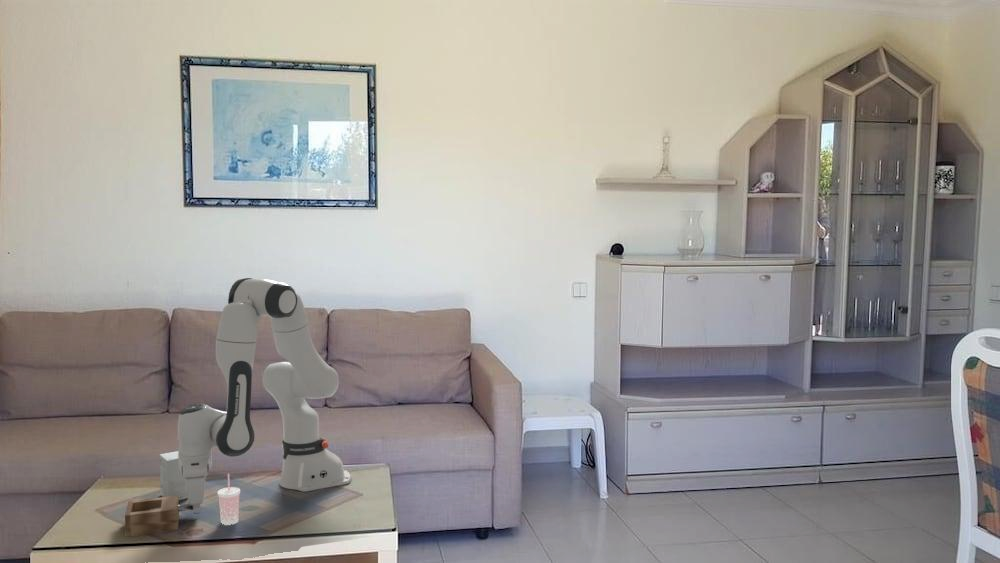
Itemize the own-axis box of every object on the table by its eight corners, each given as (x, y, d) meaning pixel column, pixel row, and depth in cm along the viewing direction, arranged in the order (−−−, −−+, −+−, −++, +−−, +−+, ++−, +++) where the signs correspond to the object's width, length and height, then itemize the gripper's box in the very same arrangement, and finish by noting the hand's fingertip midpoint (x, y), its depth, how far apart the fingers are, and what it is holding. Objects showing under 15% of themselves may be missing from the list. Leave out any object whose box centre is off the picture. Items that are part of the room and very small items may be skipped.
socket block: (179, 515, 225) (178, 495, 225) (177, 530, 215) (177, 509, 215) (129, 521, 221) (128, 501, 220) (125, 537, 211) (124, 515, 210)
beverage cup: (242, 523, 220) (241, 475, 219) (219, 527, 217) (218, 478, 216) (239, 516, 225) (238, 468, 224) (216, 519, 223) (215, 471, 221)
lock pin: (199, 509, 225) (199, 498, 225) (199, 513, 222) (199, 502, 222) (150, 515, 221) (150, 504, 221) (150, 519, 218) (149, 508, 218)
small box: (190, 498, 239) (188, 456, 238) (168, 503, 235) (167, 460, 234) (181, 490, 245) (180, 450, 244) (160, 495, 241) (158, 454, 240)
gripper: (184, 452, 231) (185, 497, 232) (182, 474, 212) (184, 523, 213) (206, 450, 233) (208, 495, 234) (207, 471, 214) (208, 520, 215)
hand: (196, 509), depth 224 cm, fingers closed on lock pin, 3 cm apart
